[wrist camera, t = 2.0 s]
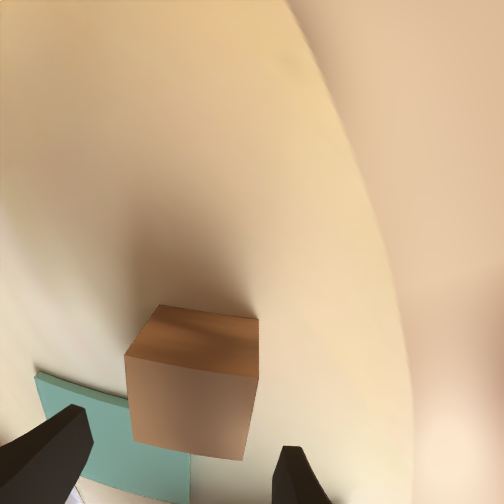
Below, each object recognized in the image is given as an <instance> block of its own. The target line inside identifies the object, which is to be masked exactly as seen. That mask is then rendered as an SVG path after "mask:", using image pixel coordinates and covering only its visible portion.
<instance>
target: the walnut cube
mask: <svg viewBox="0 0 504 504" xmlns="http://www.w3.org/2000/svg"><path fill="white" fill-rule="evenodd" d="M124 359H125V373H126V384H127V394H128V403H129V412H130V419H131V427H132V434H133V440H134V441H135V442H139V443H143V444H147V445H151V446H155V447H160V448H164V449H169V450H174V451H179V452H184V453H190V454H195V455H201V456H208V457H215V458H222V459H230V460H239V461H242V460H243V455H244V450H245V445H246V441H247V436H248V431H249V426H250V421H251V416H252V411H253V406H254V401H255V396H256V391H257V386H258V380H259V320H258V319H250V318H243V317H235V316H228V315H221V314H214V313H208V312H201V311H195V310H189V309H182V308H176V307H170V306H165V305H159V306H158V308H157V309H156V310H155V312H154V313H153V315H152V316H151V317H150V319H149V320H148V322H147V323H146V324H145V326H144V327H143V329H142V330H141V332H140V333H139V334H138V336H137V337H136V339H135V340H134V342H133V343H132V344H131V346H130V347H129V349H128V350H127V352H126V353H125V355H124Z"/></svg>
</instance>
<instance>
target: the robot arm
mask: <svg viewBox="0 0 504 504" xmlns="http://www.w3.org/2000/svg"><path fill="white" fill-rule="evenodd" d="M93 444H94V441H93V437H92V433H91V430H90V426H89V422H88V418H87V414H86V409H85V408H83V407H80V406H77V405H75V404H70V405H69V406H67V407H66V408H64V409H63V410H61V411H60V412H58V413H57V414H55V415H54V416H52V417H51V418H49V419H48V420H46V421H45V422H43V423H42V424H40V425H39V426H37V427H36V428H34V429H33V430H31V431H29V432H28V433H26V434H24V435H22V436H21V437H19V438H17V439H15V440H14V441H12V442H10V443H8V444H6V445H4V446H1V447H0V504H84V503H83V501H82V499H81V497H80V495H79V493H78V491H77V489H76V487H75V484H76V482H77V480H78V478H79V476H80V475H81V473H82V471H83V469H84V467H85V465H86V463H87V461H88V458H89V455H90V453H91V450H92V447H93ZM272 504H332V503H331V501H330V500H329V498H328V497H327V495H326V493H325V492H324V490H323V489H322V487H321V485H320V484H319V482H318V480H317V478H316V476H315V474H314V472H313V471H312V469H311V467H310V465H309V462H308V460H307V458H306V456H305V454H304V451H303V449H302V448H301V447H299V446H283V448H282V451H281V454H280V457H279V460H278V463H277V465H276V468H275V471H274V474H273V478H272Z"/></svg>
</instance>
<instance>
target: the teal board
mask: <svg viewBox="0 0 504 504" xmlns="http://www.w3.org/2000/svg"><path fill="white" fill-rule="evenodd" d="M34 379H35V382H36V386H37V389H38V393H39V396H40V400H41V403H42V406H43V409H44V412H45V415H46V418H47V420H48V419H49V418H51V417H52V416H54V415H55V414H57V413H58V412H60V411H61V410H63V409H64V408H66V407H67V406H69V405H70V404H75V405H77V406H80V407H83V408H85V409H86V414H87V418H88V422H89V426H90V430H91V433H92V437H93V441H94V444H93V447H92V450H91V453H90V455H89V458H88V461H87V463H86V465H85V467H84V469H83V471H82V473H81V475H80V476H82V477H85V478H87V479H90V480H93V481H96V482H99V483H102V484H104V485H107V486H111V487H114V488H117V489H120V490H123V491H127V492H130V493H134V494H138V495H141V496H145V497H149V498H153V499H157V500H162V501H166V502H171V503H176V504H189V501H190V453H184V452H179V451H174V450H169V449H164V448H160V447H155V446H151V445H147V444H143V443H139V442H135V441H134V440H133V434H132V427H131V419H130V412H129V403H128V400H127V399H123V398H120V397H116V396H112V395H109V394H105V393H102V392H98V391H95V390H92V389H89V388H85V387H82V386H79V385H76V384H73V383H70V382H67V381H64V380H62V379H59V378H56V377H53V376H51V375H48V374H45V373H43V372H39V373H38V374H37V375H36V376H35V377H34Z"/></svg>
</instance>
